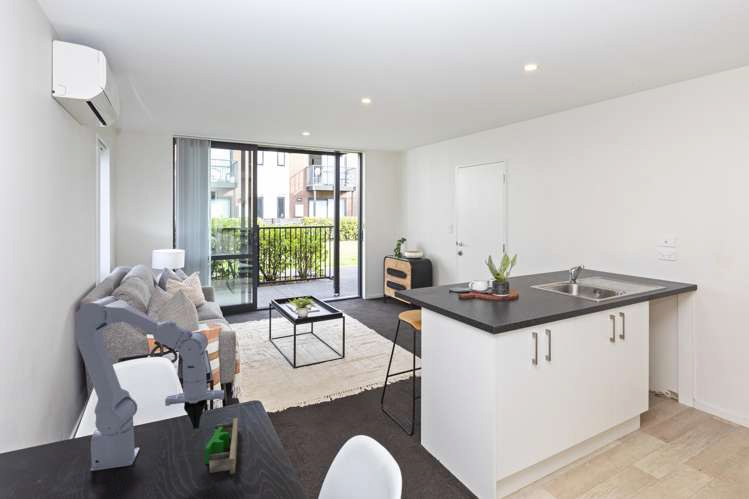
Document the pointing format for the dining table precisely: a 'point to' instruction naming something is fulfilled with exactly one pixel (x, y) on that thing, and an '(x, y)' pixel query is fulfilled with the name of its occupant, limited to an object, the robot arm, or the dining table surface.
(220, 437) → the pipe clamp
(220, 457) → the wooden drawer handle
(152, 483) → the dining table surface
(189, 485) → the dining table surface
